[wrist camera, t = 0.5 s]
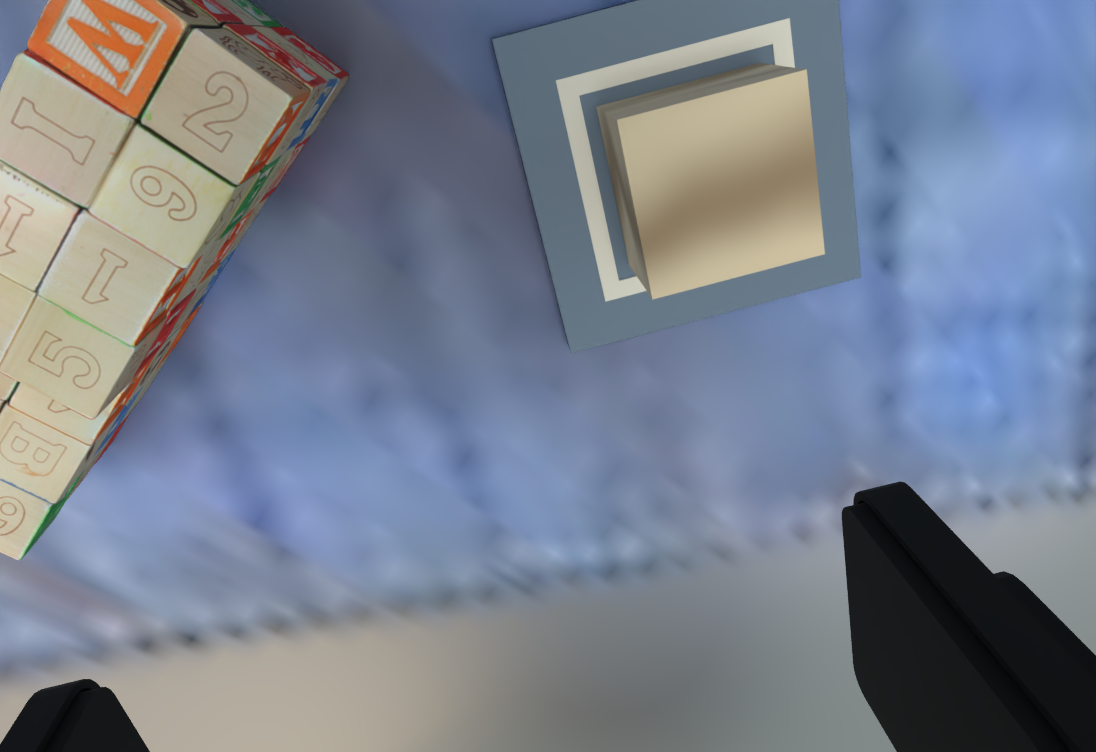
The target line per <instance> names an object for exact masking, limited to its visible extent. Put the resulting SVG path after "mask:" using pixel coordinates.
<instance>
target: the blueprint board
mask: <svg viewBox="0 0 1096 752" xmlns="http://www.w3.org/2000/svg"><path fill="white" fill-rule="evenodd" d="M491 40H492V44H493V48H494V52H495V56H496V60H497V64H498V68H499V72H500V76H501V80H502V84H503V87H504V91H505V95H506V99H507V103H508V107H509V111H510V115H511V119H512V123H513V127H514V131H515V135H516V139H517V143H518V147H519V151H520V155H521V159H522V163H523V167H524V171H525V175H526V179H527V183H528V187H529V191H530V195H531V199H532V202H533V206H534V210H535V214H536V218H537V222H538V226H539V230H540V234H541V238H542V242H543V246H544V250H545V254H546V258H547V262H548V266H549V270H550V274H551V278H552V282H553V286H554V290H555V294H556V298H557V302H558V306H559V310H560V314H561V318H562V321H563V325H564V329H565V333H566V337H567V341H568V345H569V348H570V351H571V353H575V352H579V351H582V350H586V349H590V348H594V347H598V346H601V345H605V344H609V343H613V342H617V341H620V340H624V339H628V338H632V337H636V336H639V335H643V334H647V333H651V332H655V331H658V330H662V329H666V328H670V327H674V326H677V325H681V324H685V323H689V322H693V321H696V320H700V319H704V318H708V317H712V316H716V315H719V314H723V313H727V312H731V311H735V310H738V309H742V308H746V307H750V306H754V305H757V304H761V303H765V302H769V301H773V300H776V299H780V298H784V297H788V296H792V295H795V294H799V293H803V292H807V291H811V290H814V289H818V288H822V287H826V286H830V285H833V284H837V283H841V282H845V281H849V280H852V279H856V278H860V277H861V273H860V261H859V248H858V236H857V223H856V211H855V198H854V186H853V173H852V161H851V148H850V136H849V123H848V111H847V98H846V86H845V73H844V61H843V48H842V36H841V23H840V11H839V0H635V1H631V2H627V3H624V4H620V5H616V6H612V7H609V8H605V9H601V10H597V11H594V12H590V13H586V14H583V15H579V16H575V17H571V18H568V19H564V20H560V21H556V22H553V23H549V24H545V25H542V26H538V27H534V28H530V29H527V30H523V31H519V32H515V33H512V34H508V35H504V36H501V37H497V38H493V39H491ZM757 63H764V64H772V65H779V66H786V67H793V68H800V69H807V77H808V87H809V98H810V108H811V118H812V128H813V138H814V148H815V158H816V168H817V179H818V189H819V199H820V209H821V219H822V229H823V239H824V249H825V254H824V255H820V256H816V257H812V258H808V259H805V260H801V261H797V262H793V263H789V264H786V265H782V266H778V267H774V268H771V269H767V270H763V271H759V272H755V273H752V274H748V275H744V276H740V277H736V278H733V279H729V280H725V281H721V282H717V283H714V284H710V285H706V286H702V287H698V288H695V289H691V290H687V291H683V292H679V293H676V294H672V295H668V296H664V297H660V298H657V299H653V300H652V298H651V297H650V295H649V294H648V292H647V291H646V289H645V288H644V286H643V285H642V283H641V282H640V280H639V279H638V277H637V276H636V274H635V273H634V271H633V270H632V269H631V267H630V266H629V263H628V258H627V253H626V248H625V244H624V239H623V234H622V229H621V224H620V220H619V215H618V210H617V205H616V200H615V195H614V191H613V186H612V181H611V176H610V171H609V167H608V162H607V157H606V152H605V147H604V142H603V138H602V133H601V128H600V123H599V118H598V114H597V109H596V106H600V105H604V104H607V103H611V102H615V101H619V100H622V99H626V98H630V97H634V96H637V95H641V94H645V93H649V92H652V91H656V90H660V89H664V88H667V87H671V86H675V85H679V84H682V83H686V82H690V81H694V80H697V79H701V78H705V77H709V76H712V75H716V74H720V73H724V72H727V71H731V70H735V69H739V68H742V67H746V66H750V65H754V64H757Z"/></svg>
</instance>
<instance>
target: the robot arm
mask: <svg viewBox="0 0 1096 752" xmlns="http://www.w3.org/2000/svg"><path fill="white" fill-rule="evenodd" d="M842 525H843V538H844V551H845V564H846V576H847V590H848V602H849V615H850V628H851V641H852V653H853V665H854V671H855V675H856V678H857V681H858V684H859V686H860V689H861V691H862V693H863V695H864V697H865V699H866V700H867V702H868V704H869V705H870V707H871V709H872V711H873V712H874V714H875V716H876V717H877V719H878V721H879V722H880V724H881V726H882V727H883V729H884V731H885V733H886V734H887V736H888V737H889V739H890V741H891V743H892V744H893V746H894V748H895V749H896V751H897V752H1096V655H1094V653H1093V652H1092V651H1091V650H1090V649H1089V648H1088V647H1086V645H1085V644H1084V643H1083V642H1081V640H1080V639H1078V637H1077V636H1076V635H1075V634H1074V633H1073V632H1072V631H1071V630H1070V629H1069V628H1068V627H1067V626H1065V624H1064V623H1063V622H1062V621H1061V620H1060V619H1059V618H1058V617H1057V616H1056V615H1055V614H1054V613H1053V612H1052V611H1051V610H1050V609H1049V608H1048V607H1047V606H1046V605H1045V604H1044V603H1043V602H1042V601H1041V600H1040V599H1039V598H1038V597H1037V596H1036V595H1035V594H1034V593H1033V592H1032V591H1031V590H1030V589H1029V588H1028V587H1027V586H1026V585H1025V584H1024V583H1023V582H1022V581H1020V580H1019V579H1018V578H1017V577H1015V576H1014V575H1012V574H1009V573H1007V572H999V573H995V574H993V573H992V572H991V571H990V570H989V569H988V568H987V567H986V566H985V565H984V564H983V563H982V562H981V561H980V560H979V559H978V557H976V555H975V554H974V553H973V552H972V551H971V550H970V549H969V548H968V547H967V546H966V545H965V544H964V543H963V542H962V541H961V540H960V539H959V538H958V536H957V535H956V534H955V533H954V532H953V531H952V530H951V529H950V528H949V527H948V526H947V525H946V524H945V523H944V522H943V521H942V520H941V519H940V518H939V517H938V516H937V514H936V513H935V512H934V511H933V510H932V509H931V508H930V507H929V506H928V505H927V504H926V503H925V502H924V501H923V500H922V499H921V498H920V497H919V496H918V495H917V494H916V492H915V491H914V490H913V489H912V488H911V487H910V486H908V485H907V484H906V483H904V482H896V483H892V484H888V485H884V486H880V487H876V488H872V489H867V490H863V491H859V492H857V493H856V494H855V496H854V505H852V506H848V507H845V508H843V511H842ZM0 752H150V751H149V750H148V748H147V746H146V745H145V743H144V741H143V740H142V738H141V737H140V735H139V733H138V732H137V730H136V729H135V727H134V726H133V724H132V722H131V720H130V719H129V717H128V716H127V714H126V712H125V711H124V709H123V707H122V706H121V704H120V703H119V701H118V699H117V698H116V696H115V694H114V693H113V692H112V691H111V690H110V689H109V688H107V687H100V686H99V685H98V684H97V683H96V682H94V681H93V680H91V679H82V680H78V681H74V682H70V683H66V684H62V685H58V686H54V687H49V688H45V689H41V690H40V691H38V692H36V693H34V694H33V696H32V697H31V698H30V699H29V700H28V702H27V703H26V705H25V707H24V708H23V710H22V711H21V713H20V714H19V716H18V717H17V719H16V721H15V722H14V724H13V725H12V727H11V729H10V730H9V732H8V733H7V735H6V736H5V738H4V739H3V741H2V742H1V744H0Z"/></svg>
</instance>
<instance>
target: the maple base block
mask: <svg viewBox="0 0 1096 752" xmlns="http://www.w3.org/2000/svg"><path fill="white" fill-rule="evenodd" d="M596 109H597V114H598V118H599V123H600V128H601V133H602V138H603V142H604V147H605V152H606V157H607V162H608V167H609V171H610V176H611V181H612V186H613V191H614V195H615V200H616V205H617V210H618V215H619V220H620V224H621V229H622V234H623V239H624V244H625V248H626V253H627V258H628V263H629V266H630V267H631V269H632V270H633V271H634V273H635V274H636V276H637V277H638V279H639V280H640V282H641V283H642V285H643V286H644V288H645V289H646V291H647V292H648V294H649V295H650V297H651V298H652V300H653V299H657V298H660V297H664V296H668V295H672V294H676V293H679V292H683V291H687V290H691V289H695V288H698V287H702V286H706V285H710V284H714V283H717V282H721V281H725V280H729V279H733V278H736V277H740V276H744V275H748V274H752V273H755V272H759V271H763V270H767V269H771V268H774V267H778V266H782V265H786V264H789V263H793V262H797V261H801V260H805V259H808V258H812V257H816V256H820V255H824V254H825V249H824V239H823V229H822V219H821V209H820V199H819V189H818V179H817V168H816V158H815V148H814V138H813V128H812V118H811V108H810V98H809V87H808V77H807V69H800V68H793V67H786V66H779V65H772V64H764V63H757V64H754V65H750V66H746V67H742V68H739V69H735V70H731V71H727V72H724V73H720V74H716V75H712V76H709V77H705V78H701V79H697V80H694V81H690V82H686V83H682V84H679V85H675V86H671V87H667V88H664V89H660V90H656V91H652V92H649V93H645V94H641V95H637V96H634V97H630V98H626V99H622V100H619V101H615V102H611V103H607V104H604V105H600V106H596Z"/></svg>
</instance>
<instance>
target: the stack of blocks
mask: <svg viewBox="0 0 1096 752" xmlns="http://www.w3.org/2000/svg"><path fill="white" fill-rule="evenodd" d="M348 78H349V74H348V73H346V72H345V71H344V70H342V69H341V68H340V67H338V66H337V65H336V64H334V63H333V62H332V61H330V60H329V59H328V58H326V57H325V56H324V55H322V54H321V53H320V52H318V51H317V50H316V49H314V48H313V47H312V46H310V45H309V44H307V43H306V42H305V41H304V40H302V39H301V38H299V37H298V36H297V35H295V34H294V33H293V32H291V31H290V30H289V29H287V28H285V27H283V26H281V25H280V24H279V23H277V22H276V21H275V20H273V19H272V18H271V17H269V16H268V15H267V14H265V13H264V12H263V11H261V10H260V9H259V8H257V7H256V6H255V5H253V4H252V3H251V2H249V1H248V0H48V2H47V4H46V6H45V8H44V9H43V11H42V13H41V16H40V18H39V20H38V22H37V24H36V26H35V28H34V30H33V32H32V34H31V36H30V38H29V40H28V43H27V50H24V51H22V52H20V53H19V54H18V55H17V56H16V57H15V60H14V62H13V64H12V66H11V69H10V71H9V73H8V75H7V77H6V79H5V81H4V83H3V86H2V88H1V90H0V552H1V553H3V554H5V555H7V556H10V557H12V558H14V559H16V560H21V559H22V558H23V557H24V556H25V555H26V553H27V552H28V551H29V550H30V549H31V547H32V546H33V545H34V544H35V542H36V541H37V540H38V539H39V538H40V536H41V535H42V534H43V533H44V531H45V530H46V529H47V528H48V527H49V525H50V524H51V523H52V521H53V520H54V519H55V518H56V516H57V514H58V513H59V511H60V510H61V508H62V506H63V505H64V503H65V501H66V500H67V499H68V498H69V497H70V495H71V494H72V493H73V492H74V491H75V489H76V488H77V487H78V486H79V484H80V483H81V482H82V481H83V479H84V478H85V477H86V475H87V474H88V472H89V471H90V469H91V468H92V467H93V465H94V464H95V463H96V462H97V461H98V460H99V459H100V457H101V456H102V455H103V454H104V452H105V451H106V450H107V448H108V447H109V446H110V445H111V443H112V442H113V440H114V438H115V437H116V435H117V433H118V432H119V430H120V428H121V427H122V425H123V424H124V422H125V420H126V419H127V417H128V416H129V414H130V412H131V411H132V410H133V409H134V407H135V406H136V405H137V404H138V402H139V401H140V400H141V399H142V397H143V396H144V394H145V392H146V391H147V389H148V388H149V386H150V385H151V383H152V382H153V380H154V378H155V377H156V375H157V374H158V372H159V371H160V369H161V367H162V366H163V364H164V363H165V361H166V360H167V358H168V356H169V355H170V353H171V351H172V350H173V349H174V347H175V346H176V344H177V343H178V341H179V340H180V338H181V337H182V335H183V334H184V332H185V330H186V329H187V327H188V326H189V324H190V323H191V321H192V320H193V318H194V316H195V315H196V313H197V312H198V310H199V309H200V307H201V306H202V304H203V299H204V297H205V296H206V294H207V293H208V291H209V290H210V288H211V287H212V285H213V284H214V282H215V280H216V279H217V277H218V276H219V274H220V273H221V271H222V270H223V268H224V267H225V265H226V264H227V262H228V260H229V259H230V257H231V256H232V254H233V253H234V251H235V249H236V247H237V245H238V244H239V242H240V241H241V239H242V238H243V236H244V235H245V233H246V232H247V230H248V229H249V227H250V225H251V224H252V222H253V221H254V219H255V218H256V216H257V215H258V213H259V211H260V210H261V208H262V207H263V205H264V204H265V202H266V200H267V199H268V197H269V195H270V194H271V193H272V192H274V191H275V189H276V188H277V186H278V185H279V183H280V182H281V180H282V179H283V177H284V176H285V174H286V173H287V171H288V170H289V168H290V166H291V165H292V163H293V162H294V160H295V159H296V157H297V156H298V154H299V153H300V151H301V150H302V148H303V147H304V145H305V143H306V142H307V140H308V139H309V137H310V136H311V134H312V133H313V132H314V131H315V129H316V128H317V126H318V125H319V123H320V122H321V120H322V119H323V117H324V116H325V114H326V113H327V111H328V110H329V108H330V107H331V105H332V103H333V102H334V100H335V99H336V97H337V96H338V94H339V93H340V91H341V90H342V88H343V87H344V85H345V83H346V82H347V80H348Z"/></svg>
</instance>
